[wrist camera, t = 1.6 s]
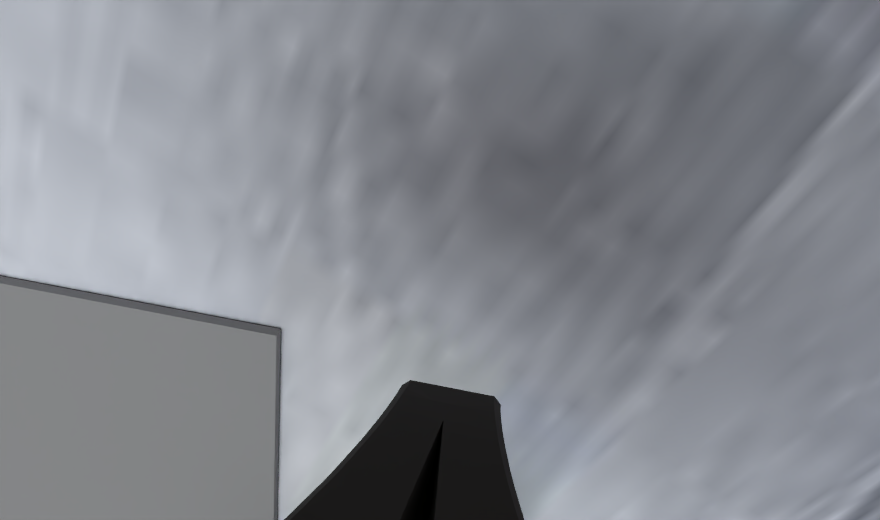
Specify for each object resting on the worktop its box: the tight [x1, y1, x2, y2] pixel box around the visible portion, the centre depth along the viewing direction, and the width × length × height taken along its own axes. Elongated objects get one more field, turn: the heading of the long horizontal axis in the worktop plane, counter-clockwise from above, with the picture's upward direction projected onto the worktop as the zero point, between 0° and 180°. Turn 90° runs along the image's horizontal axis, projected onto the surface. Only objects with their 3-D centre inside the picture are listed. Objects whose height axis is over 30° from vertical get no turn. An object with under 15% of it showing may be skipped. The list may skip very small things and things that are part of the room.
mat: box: [0, 276, 281, 520], centre depth 27 cm, size 16×20×1 cm
